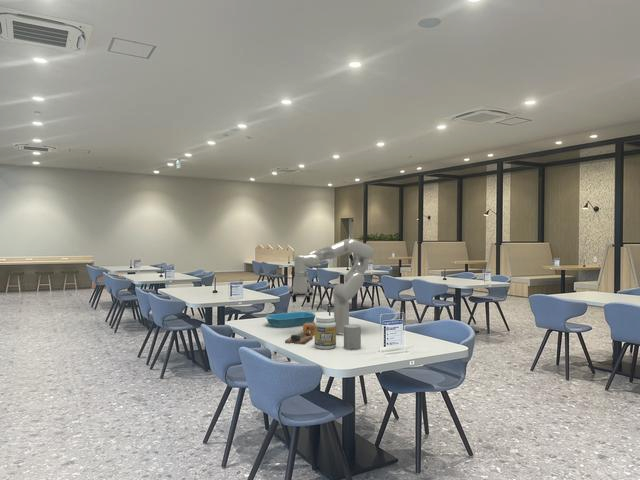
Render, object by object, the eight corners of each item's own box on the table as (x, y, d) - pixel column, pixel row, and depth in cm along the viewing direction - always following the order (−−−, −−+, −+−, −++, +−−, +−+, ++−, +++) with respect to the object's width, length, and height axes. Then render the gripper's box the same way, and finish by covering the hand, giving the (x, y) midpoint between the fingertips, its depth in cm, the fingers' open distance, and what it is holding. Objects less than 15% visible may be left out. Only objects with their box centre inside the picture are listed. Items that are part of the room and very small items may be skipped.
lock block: (316, 334, 302) (316, 323, 302) (312, 336, 294) (312, 325, 294) (306, 333, 304) (306, 322, 304) (302, 336, 296) (302, 324, 296)
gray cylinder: (355, 350, 257) (355, 328, 257) (340, 348, 262) (340, 326, 262) (363, 347, 266) (363, 325, 265) (348, 345, 271) (348, 323, 270)
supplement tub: (316, 350, 259) (316, 319, 259) (312, 345, 271) (312, 315, 271) (338, 349, 261) (338, 318, 261) (333, 344, 273) (333, 314, 273)
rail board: (312, 338, 288) (312, 331, 288) (304, 344, 273) (304, 336, 272) (293, 337, 291) (293, 330, 291) (285, 343, 276) (285, 335, 276)
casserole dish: (273, 330, 315) (273, 319, 315) (260, 324, 335) (260, 314, 335) (321, 325, 333) (321, 315, 333) (306, 320, 353) (306, 310, 353)
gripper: (315, 274, 295) (316, 302, 295) (291, 274, 302) (292, 300, 303) (310, 275, 288) (311, 303, 288) (285, 275, 295) (286, 302, 296)
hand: (301, 302), depth 295 cm, fingers open, 9 cm apart
